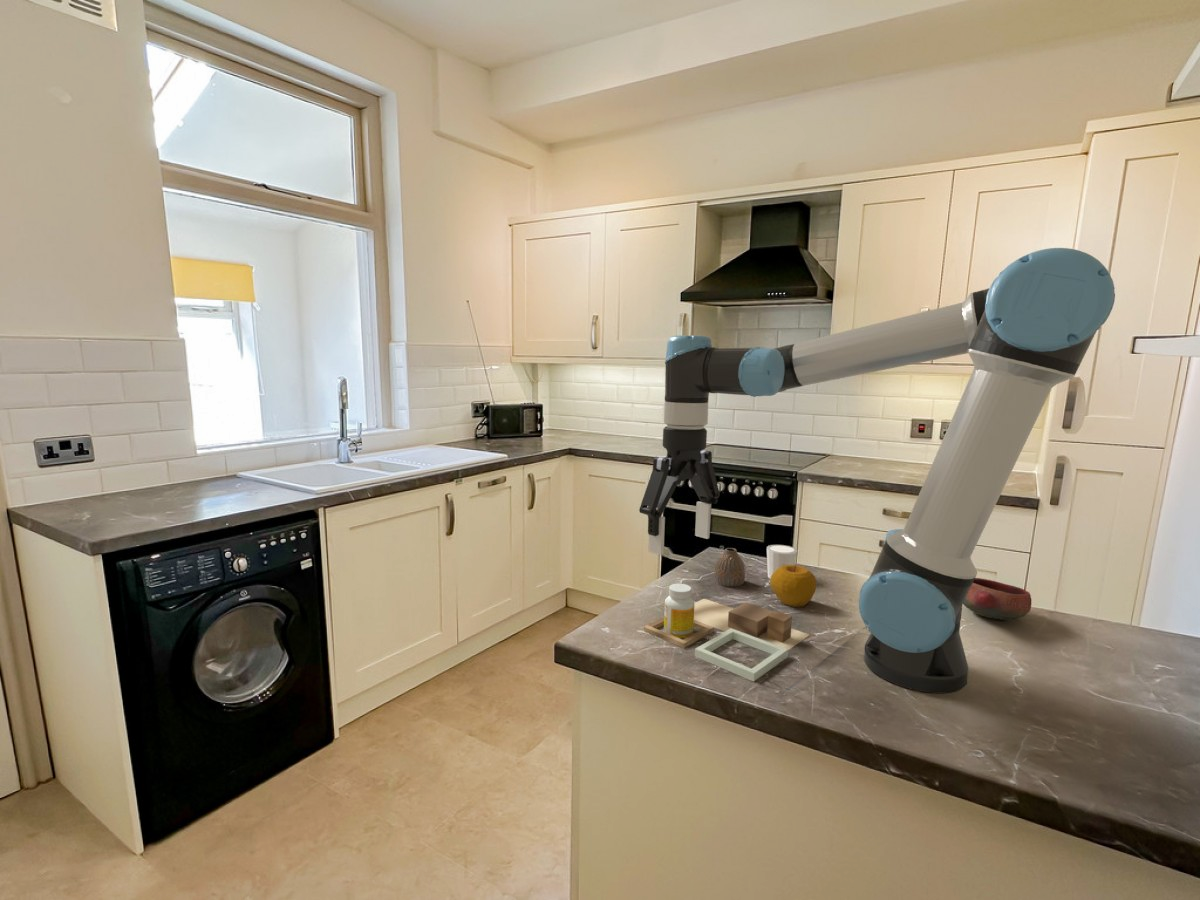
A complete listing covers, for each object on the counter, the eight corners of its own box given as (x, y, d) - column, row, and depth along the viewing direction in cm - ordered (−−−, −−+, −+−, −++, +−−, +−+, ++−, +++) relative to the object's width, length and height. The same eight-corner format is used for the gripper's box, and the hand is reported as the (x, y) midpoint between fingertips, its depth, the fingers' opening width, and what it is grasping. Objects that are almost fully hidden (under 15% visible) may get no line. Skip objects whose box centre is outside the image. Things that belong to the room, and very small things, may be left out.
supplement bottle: (657, 636, 108) (658, 586, 106) (677, 628, 111) (679, 579, 110) (679, 647, 104) (680, 595, 102) (699, 638, 107) (701, 588, 106)
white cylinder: (775, 570, 143) (777, 542, 142) (801, 578, 138) (803, 549, 137) (759, 576, 139) (760, 547, 138) (784, 585, 134) (786, 555, 133)
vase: (726, 579, 137) (728, 542, 136) (751, 588, 132) (753, 550, 130) (707, 586, 133) (708, 548, 131) (731, 595, 127) (733, 556, 126)
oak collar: (713, 637, 108) (713, 627, 107) (683, 654, 101) (683, 643, 101) (673, 622, 114) (674, 612, 114) (643, 637, 107) (643, 626, 107)
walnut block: (773, 627, 109) (774, 611, 109) (756, 637, 105) (757, 621, 105) (744, 617, 114) (745, 602, 113) (727, 626, 109) (728, 611, 109)
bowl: (945, 600, 126) (948, 565, 125) (1013, 608, 123) (1018, 571, 121) (971, 633, 110) (975, 593, 109) (1050, 642, 107) (1055, 601, 106)
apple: (760, 605, 122) (763, 564, 121) (783, 594, 128) (785, 555, 127) (800, 620, 115) (803, 576, 114) (823, 607, 121) (825, 565, 120)
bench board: (809, 641, 107) (811, 613, 106) (783, 660, 100) (784, 631, 99) (703, 603, 123) (704, 580, 122) (674, 618, 116) (675, 592, 115)
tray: (787, 663, 99) (788, 649, 98) (753, 688, 91) (754, 673, 90) (730, 641, 106) (730, 628, 106) (694, 662, 98) (695, 648, 98)
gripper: (708, 420, 113) (703, 527, 116) (620, 429, 96) (617, 554, 99) (742, 423, 108) (736, 535, 111) (656, 434, 90) (651, 566, 94)
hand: (680, 544), depth 105 cm, fingers open, 13 cm apart
